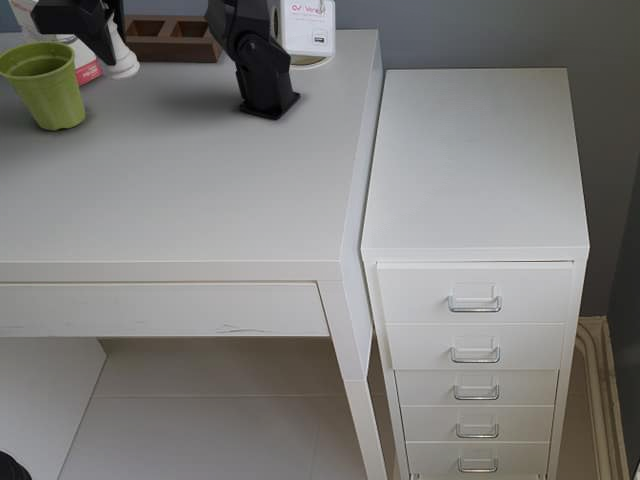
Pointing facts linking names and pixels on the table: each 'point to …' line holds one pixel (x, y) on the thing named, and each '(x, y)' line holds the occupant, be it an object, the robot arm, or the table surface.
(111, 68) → the rook chess piece
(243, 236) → the table surface
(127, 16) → the wooden compartment tray
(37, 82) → the plant pot
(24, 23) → the ink box
